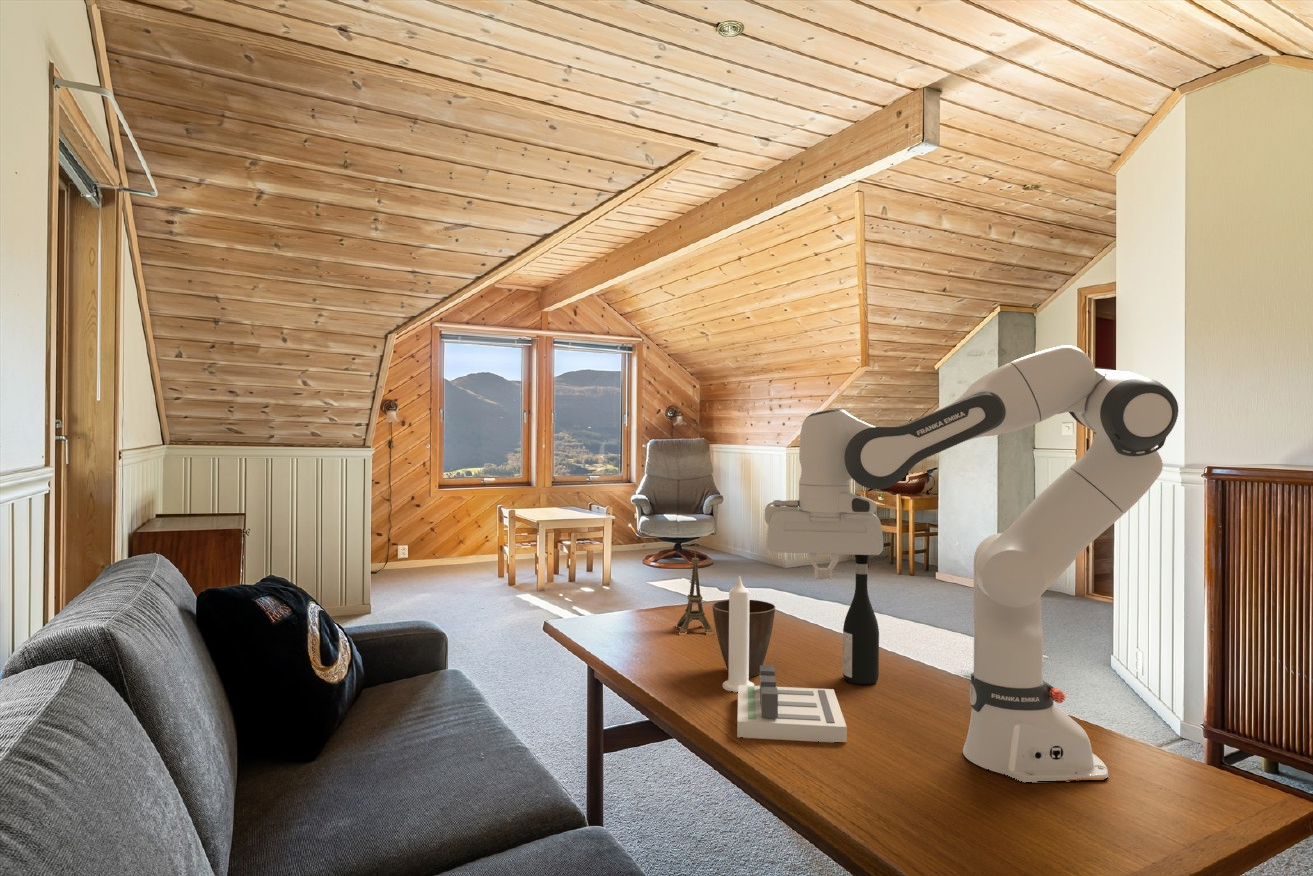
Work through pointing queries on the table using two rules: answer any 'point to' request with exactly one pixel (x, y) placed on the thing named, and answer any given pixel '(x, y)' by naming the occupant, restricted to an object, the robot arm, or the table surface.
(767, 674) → the handle
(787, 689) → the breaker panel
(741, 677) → the candle
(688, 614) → the eiffel tower
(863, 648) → the wine bottle
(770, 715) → the handle
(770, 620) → the plant pot
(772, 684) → the handle
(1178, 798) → the table surface
